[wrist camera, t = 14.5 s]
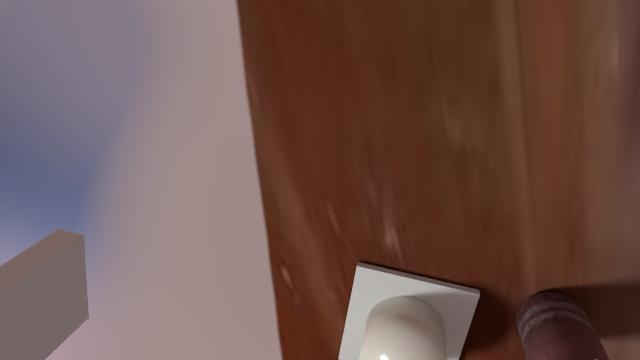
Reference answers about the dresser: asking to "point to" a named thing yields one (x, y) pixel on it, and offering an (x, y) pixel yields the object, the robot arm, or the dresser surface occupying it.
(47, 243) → the robot arm
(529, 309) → the can
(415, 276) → the mat
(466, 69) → the dresser surface
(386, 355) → the cloche
